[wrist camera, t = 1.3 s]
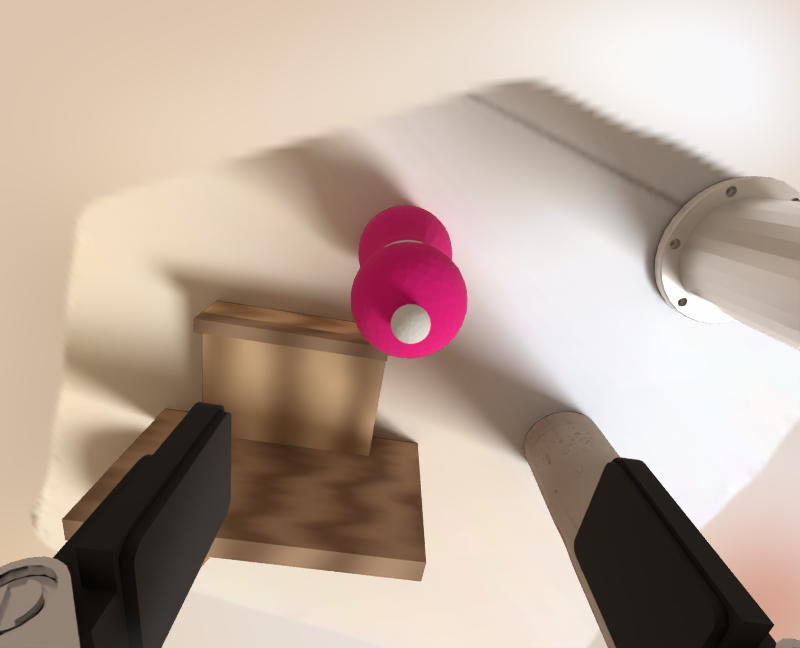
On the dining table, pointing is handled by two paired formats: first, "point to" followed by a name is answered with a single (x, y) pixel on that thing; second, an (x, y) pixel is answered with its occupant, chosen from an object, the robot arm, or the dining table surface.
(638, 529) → the robot arm
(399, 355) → the pepper mill
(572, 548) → the thermos bottle
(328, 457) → the wall shelf
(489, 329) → the dining table surface
